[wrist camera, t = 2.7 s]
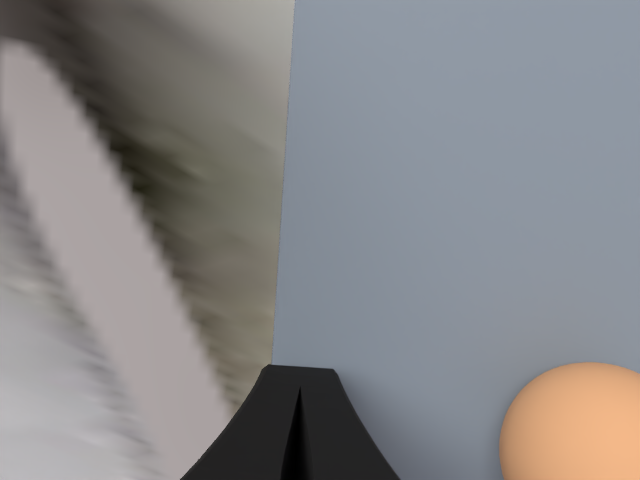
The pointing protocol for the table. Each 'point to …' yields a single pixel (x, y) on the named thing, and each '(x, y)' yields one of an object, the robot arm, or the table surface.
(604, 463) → the ball
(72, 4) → the table surface
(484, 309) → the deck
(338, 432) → the robot arm
